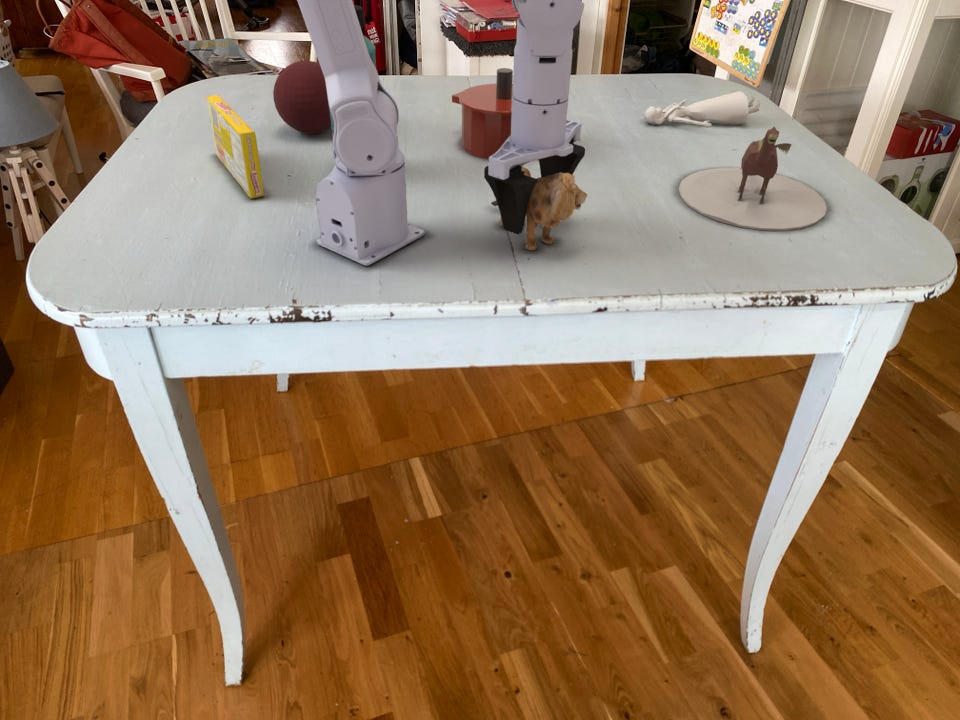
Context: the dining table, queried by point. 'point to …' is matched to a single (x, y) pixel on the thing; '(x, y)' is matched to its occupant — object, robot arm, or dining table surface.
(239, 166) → the candy box
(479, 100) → the pot lid
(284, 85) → the decorative ball
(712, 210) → the brown figure on disc
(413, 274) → the dining table surface
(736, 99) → the woman figurine
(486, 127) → the pot
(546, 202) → the lion figurine
